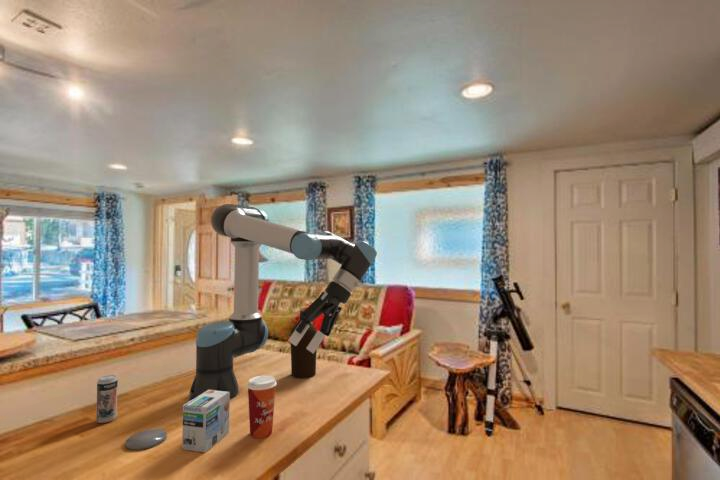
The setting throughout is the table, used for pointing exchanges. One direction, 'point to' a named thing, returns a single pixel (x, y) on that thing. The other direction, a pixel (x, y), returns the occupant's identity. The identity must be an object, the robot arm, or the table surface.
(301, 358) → the olive oil
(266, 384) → the paper cup
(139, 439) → the slate coaster
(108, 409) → the beer can
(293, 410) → the table surface
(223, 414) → the light bulb box
